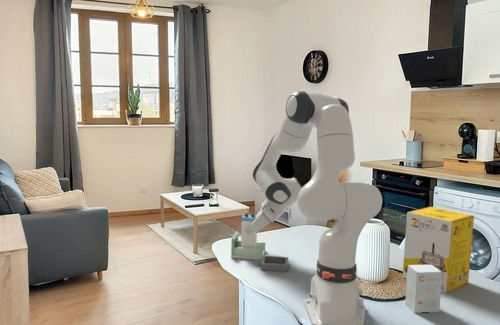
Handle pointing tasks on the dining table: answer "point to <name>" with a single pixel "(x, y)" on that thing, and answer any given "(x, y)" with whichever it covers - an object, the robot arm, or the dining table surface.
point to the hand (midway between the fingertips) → (247, 230)
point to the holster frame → (269, 264)
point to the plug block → (246, 239)
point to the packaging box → (440, 244)
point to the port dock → (246, 250)
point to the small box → (423, 288)
